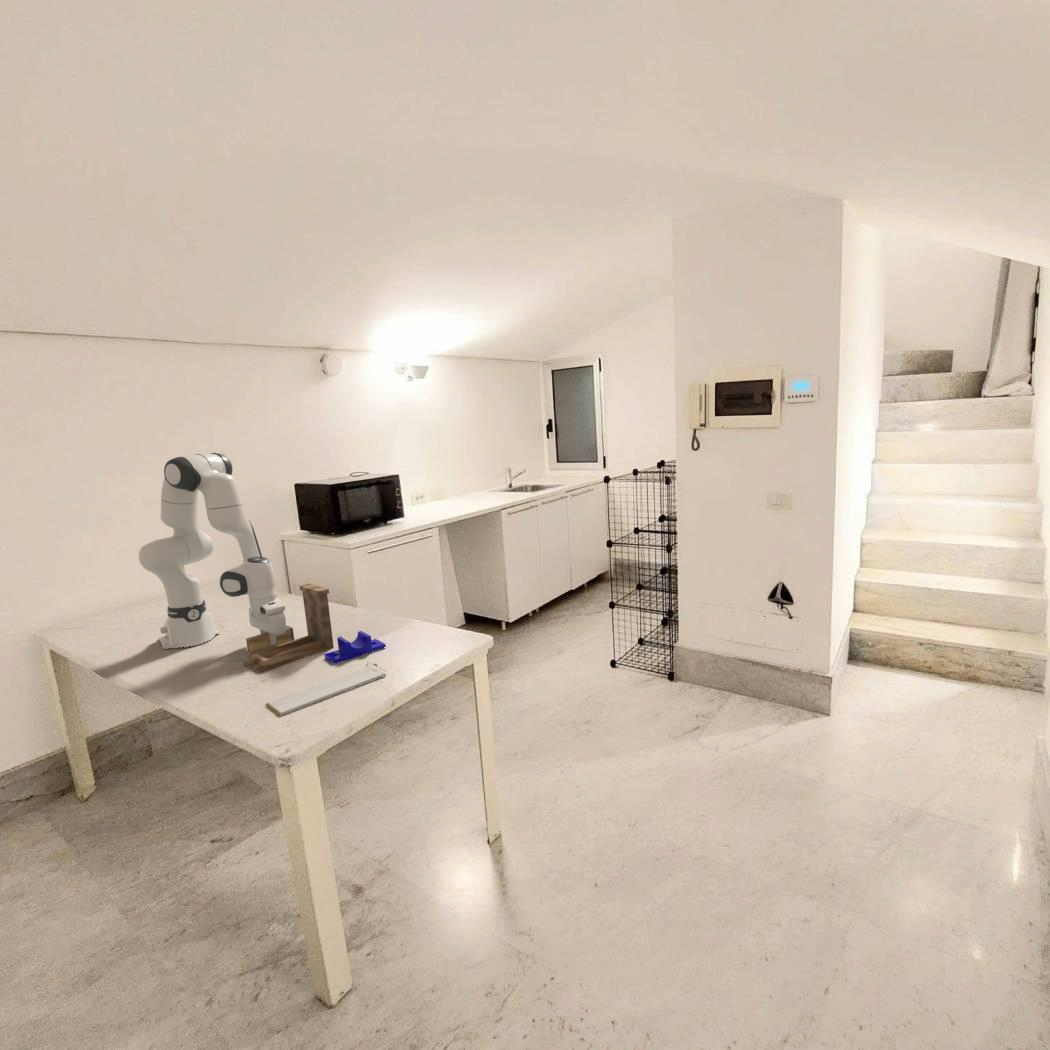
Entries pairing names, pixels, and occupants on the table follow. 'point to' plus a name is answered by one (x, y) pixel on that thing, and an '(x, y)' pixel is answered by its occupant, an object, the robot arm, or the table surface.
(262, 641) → the oak rail piece
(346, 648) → the mounting bracket
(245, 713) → the table surface
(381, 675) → the baseboard molding
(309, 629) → the wooden l-shaped stand
